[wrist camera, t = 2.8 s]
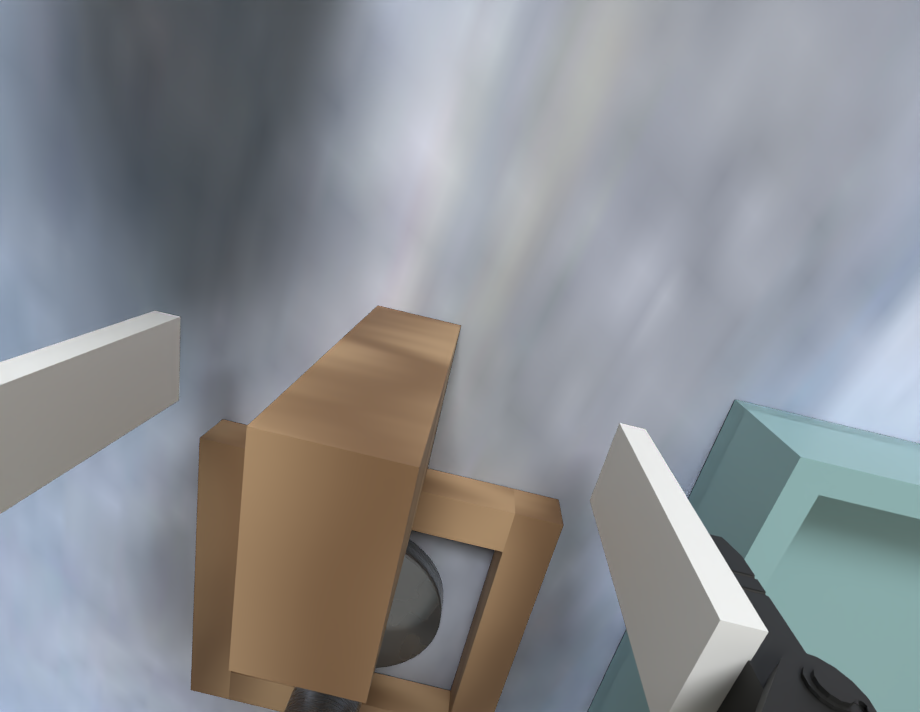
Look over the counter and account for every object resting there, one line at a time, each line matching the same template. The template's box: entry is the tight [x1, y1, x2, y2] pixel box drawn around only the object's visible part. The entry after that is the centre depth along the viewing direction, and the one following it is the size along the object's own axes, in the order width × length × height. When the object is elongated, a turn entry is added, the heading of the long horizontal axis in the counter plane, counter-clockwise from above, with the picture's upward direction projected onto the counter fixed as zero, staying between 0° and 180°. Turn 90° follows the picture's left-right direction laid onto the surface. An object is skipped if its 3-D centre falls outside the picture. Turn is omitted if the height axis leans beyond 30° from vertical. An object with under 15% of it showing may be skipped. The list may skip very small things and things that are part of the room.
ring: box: [191, 306, 563, 712], centre depth 15 cm, size 14×20×9 cm
